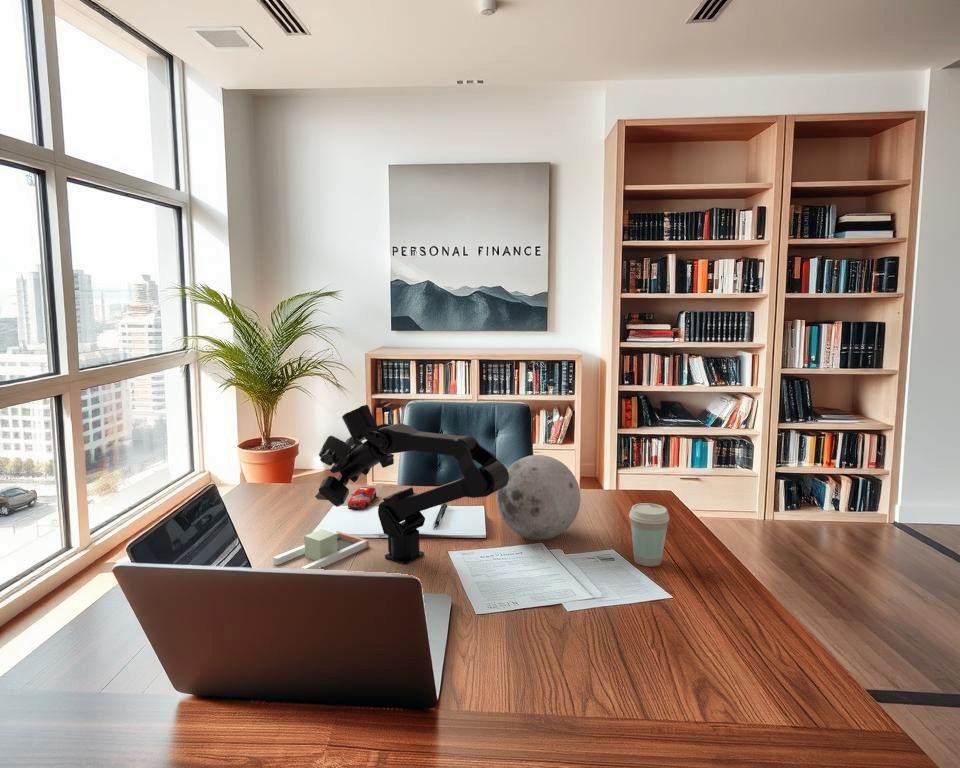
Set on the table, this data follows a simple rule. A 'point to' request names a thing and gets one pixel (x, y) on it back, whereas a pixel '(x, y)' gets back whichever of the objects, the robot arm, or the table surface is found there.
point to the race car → (362, 497)
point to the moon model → (539, 497)
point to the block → (320, 544)
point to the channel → (322, 561)
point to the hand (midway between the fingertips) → (324, 484)
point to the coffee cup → (648, 533)
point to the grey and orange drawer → (348, 540)
